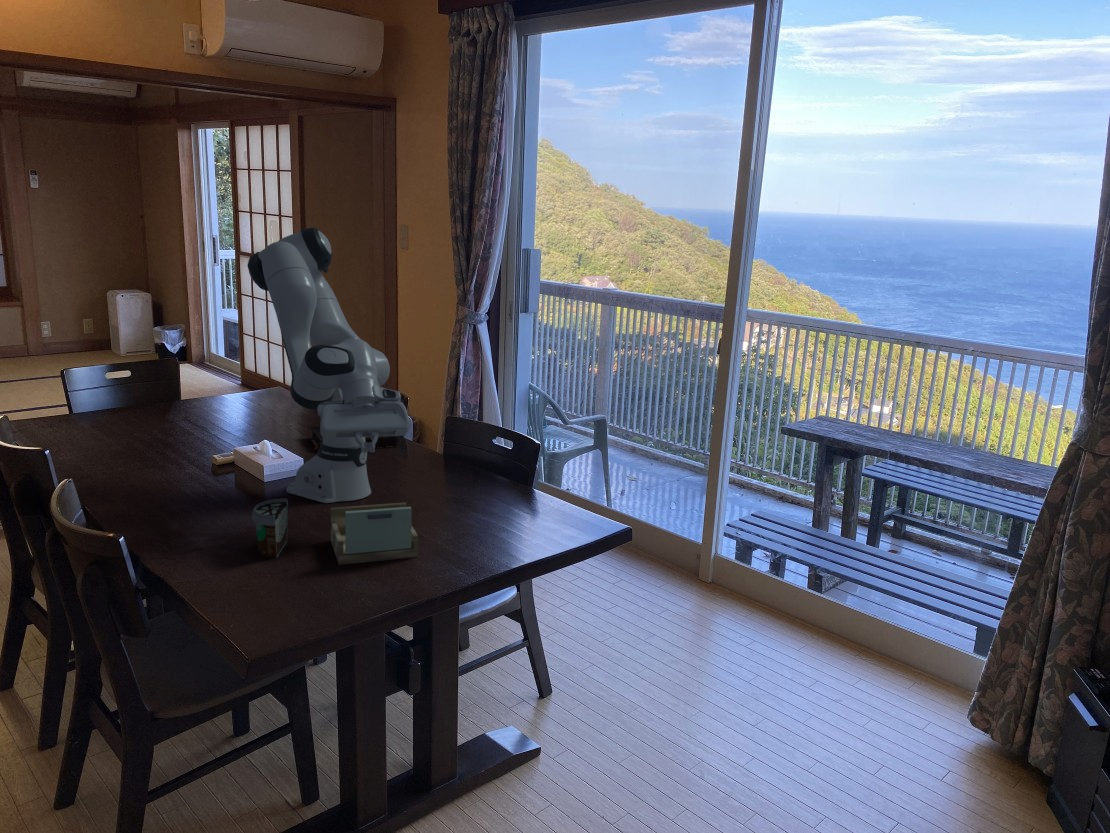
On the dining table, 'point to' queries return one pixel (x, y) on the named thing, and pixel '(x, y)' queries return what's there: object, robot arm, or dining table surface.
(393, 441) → the diary
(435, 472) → the dining table surface
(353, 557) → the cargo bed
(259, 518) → the food container
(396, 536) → the panel
